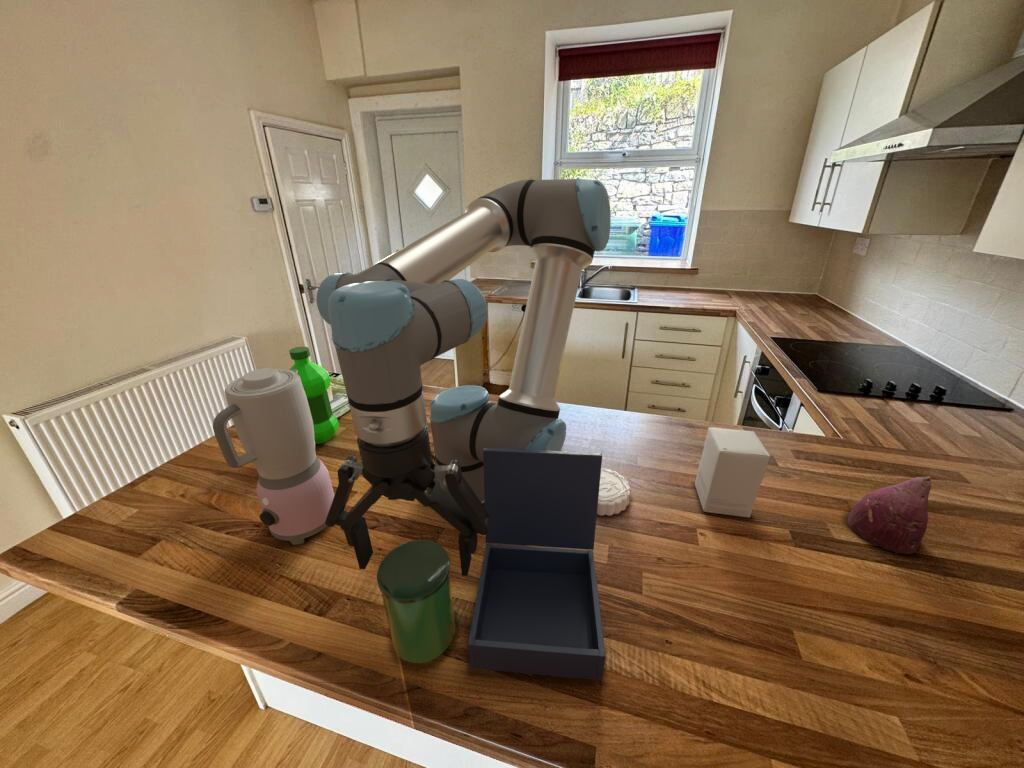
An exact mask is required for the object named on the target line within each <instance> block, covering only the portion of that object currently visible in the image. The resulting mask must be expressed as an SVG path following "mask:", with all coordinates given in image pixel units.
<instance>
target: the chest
mask: <svg viewBox="0 0 1024 768" xmlns="http://www.w3.org/2000/svg"><path fill="white" fill-rule="evenodd" d="M484 547H485V548H484V553H483V559H482V564H481V570H480V575H479V581H478V587H477V591H476V597H475V604H474V608H473V614H472V619H471V625H470V631H469V636H468V641H467V651H468V662H469V669H474V670H475V669H476V670H486V671H487V670H488V671H496V672H497V671H498V672H509V673H510V672H511V673H521V674H530V675H531V674H533V675H542V676H543V675H544V676H555V677H567V678H577V679H589V680H601V681H603V675H604V670H605V664H606V657H607V656H606V647H605V640H604V630H603V623H602V614H601V605H600V597H599V589H598V588H599V587H598V579H597V573H596V564H595V555H594V549H593V550H588V549H573V548H557V547H541V546H526V545H510V544H494V543H485V546H484Z"/></svg>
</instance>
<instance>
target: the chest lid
mask: <svg viewBox="0 0 1024 768" xmlns="http://www.w3.org/2000/svg"><path fill="white" fill-rule="evenodd" d="M483 463H484V500H485V506H484V507H485V509H486V510H487V512H488V513H489V514H490V516H491V518H490V524H489V529H488V533H487V534H486V535H484V537H485V544H499V545H515V546H530V547H546V548H562V549H578V550H593V551H594V547H595V538H596V527H597V516H598V514H597V507H598V496H599V486H600V475H601V468H602V463H603V454H602V452H588V451H566V450H561V451H545V450H523V449H500V448H484V449H483Z"/></svg>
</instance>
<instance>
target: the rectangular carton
mask: <svg viewBox="0 0 1024 768" xmlns="http://www.w3.org/2000/svg"><path fill="white" fill-rule="evenodd" d="M770 460H771V455H770V454H769V453H768V451H767V449H766V447H765V446H764V445H763V443H762V441H761V440H760V439H759V437H758V435H757V434H756V432H755V431H752V430H744V429H743V430H742V429H734V428H733V429H732V428H731V429H730V428H723V427H713V426H712V427H711V426H709V427H708V428H707V433H706V436H705V441H704V445H703V449H702V454H701V458H700V461H699V466H698V470H697V474H696V478H695V482H694V486H695V489H696V493H697V495H698V499H699V502H700V505H701V508H702V511H703V512H705V513H711V514H717V515H718V514H720V515H727V516H734V517H741V518H751V515H752V512H753V510H754V506H755V504H756V500H757V497H758V495H759V492H760V489H761V486H762V484H763V480H764V477H765V474H766V472H767V467H768V465H769V462H770Z"/></svg>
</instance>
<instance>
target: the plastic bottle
mask: <svg viewBox="0 0 1024 768" xmlns="http://www.w3.org/2000/svg"><path fill="white" fill-rule="evenodd" d="M288 352H289V353H288V354H289V356H290V359H291V360H293V361H294V364H293V365H292V366H290V368H289V369H296V370H298V373H297V374H298V375H299V376H300V379H301V382H302V385H303V388H304V391H305V394H306V397H307V400H308V404H309V408H310V412H311V416H312V420H313V426H314V437H315V445H318V444H323V443H324V444H325V443H326V442H328V441H330V440H331V439H332V438H333V437H334V435H335V434H336V433H337V431H338V430H339V428H340V427H339V426H340V423H339V420H338V419H337V417H336V415H335V414H334V412H333V409H332V405H331V400H330V396H329V391H328V389H329V388H330V386H331V382H332V381H331V375H330V374H329V372H328V371H327V370H326V369H325V368H324V366H322V365H319V364H317V363H315V362H313V361H310V358H309V357H311V355H312V354H311V351H310V348H309V347H308V346H304V345H303V346H296V347H293V348H290V349H289V350H288Z"/></svg>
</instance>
